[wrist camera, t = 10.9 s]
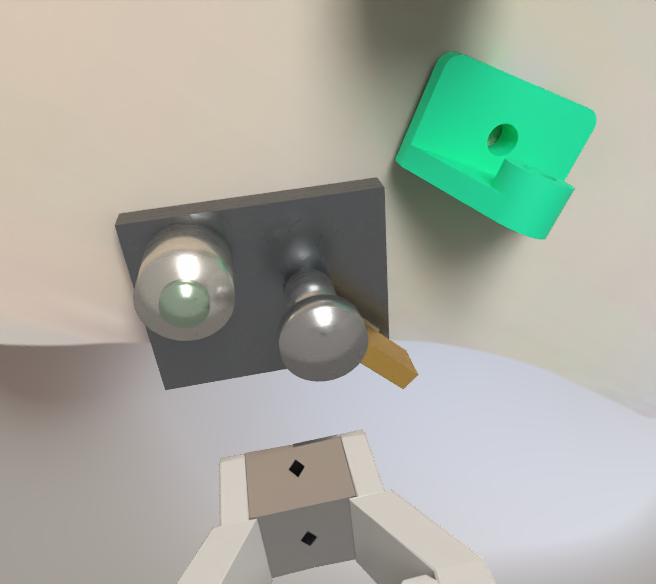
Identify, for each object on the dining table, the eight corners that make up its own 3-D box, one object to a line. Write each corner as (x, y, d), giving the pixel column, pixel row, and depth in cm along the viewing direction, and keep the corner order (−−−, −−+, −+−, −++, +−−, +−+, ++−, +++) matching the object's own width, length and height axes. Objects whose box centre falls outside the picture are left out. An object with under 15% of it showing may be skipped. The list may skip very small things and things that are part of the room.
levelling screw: (254, 298, 40) (261, 356, 34) (303, 241, 38) (319, 291, 32) (370, 369, 45) (394, 430, 39) (417, 322, 43) (449, 377, 38)
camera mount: (580, 106, 40) (684, 144, 31) (527, 202, 43) (607, 262, 34) (437, 44, 36) (509, 67, 27) (390, 155, 39) (441, 208, 30)
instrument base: (377, 177, 39) (409, 219, 33) (383, 336, 46) (410, 397, 40) (119, 213, 37) (98, 266, 31) (167, 373, 45) (158, 444, 38)
